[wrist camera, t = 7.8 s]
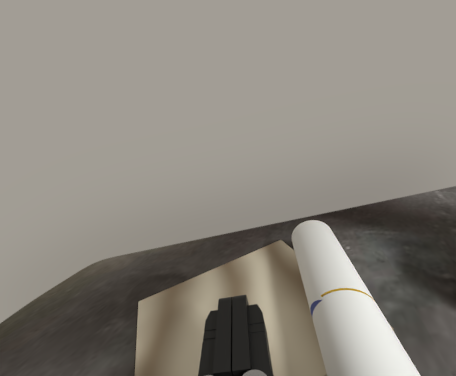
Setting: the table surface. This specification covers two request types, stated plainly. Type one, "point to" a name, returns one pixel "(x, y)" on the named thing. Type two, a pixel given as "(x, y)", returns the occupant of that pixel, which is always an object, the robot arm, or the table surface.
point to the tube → (345, 310)
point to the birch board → (208, 301)
